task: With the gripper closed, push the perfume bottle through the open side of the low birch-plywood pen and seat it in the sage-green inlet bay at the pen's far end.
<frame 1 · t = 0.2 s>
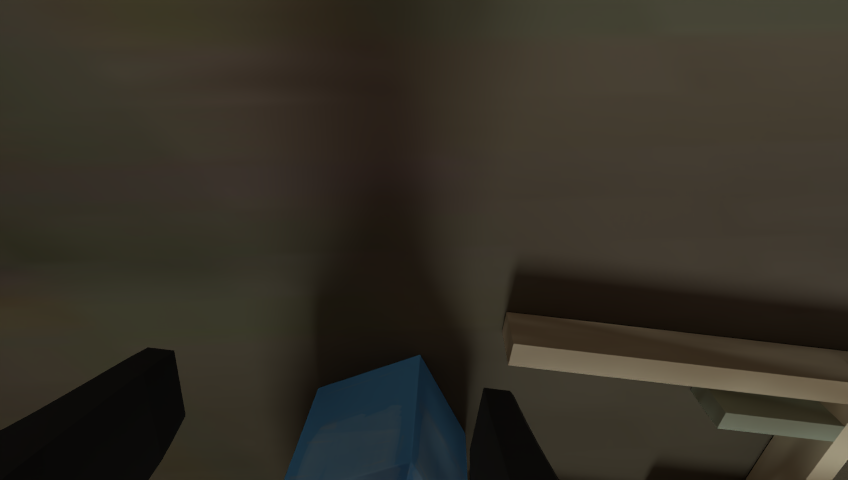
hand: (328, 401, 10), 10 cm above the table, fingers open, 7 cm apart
perfume bottle: (393, 408, 24), on the table
walled pen: (623, 438, 24), on the table
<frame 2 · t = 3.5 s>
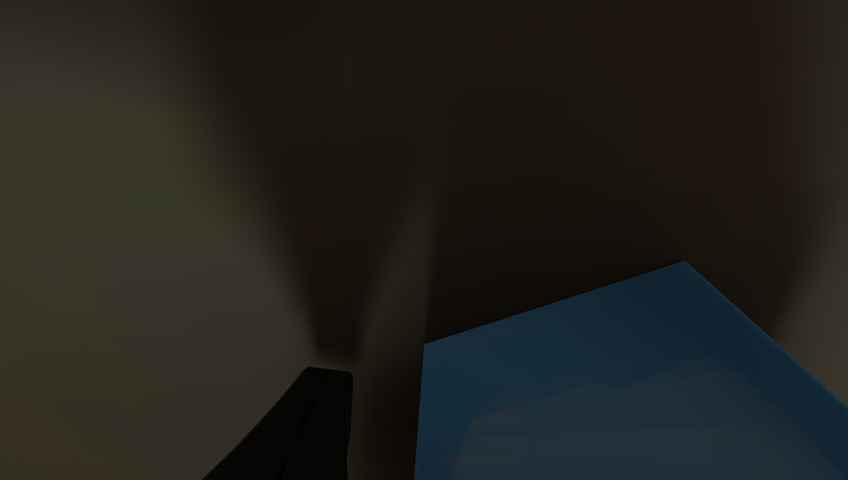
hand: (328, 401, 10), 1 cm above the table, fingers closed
perfume bottle: (579, 393, 11), on the table, touching gripper
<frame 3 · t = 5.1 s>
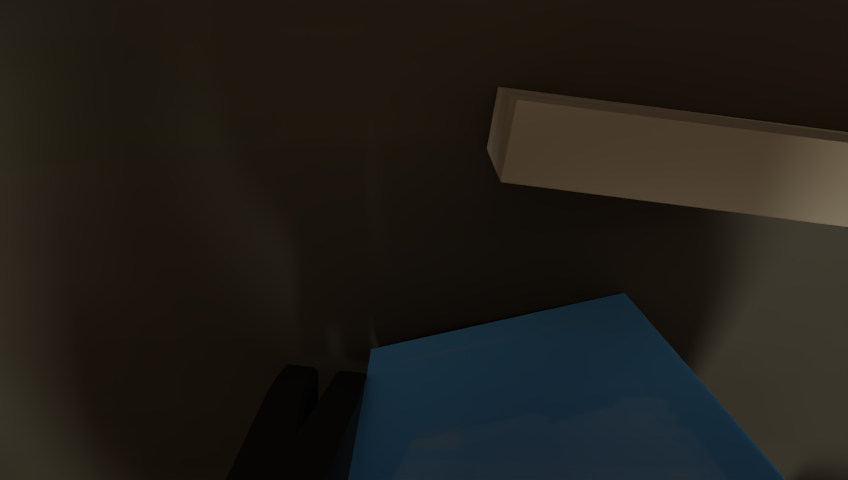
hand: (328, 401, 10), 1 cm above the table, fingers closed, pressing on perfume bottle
perfume bottle: (514, 409, 12), on the table, touching gripper
walled pen: (742, 422, 11), on the table
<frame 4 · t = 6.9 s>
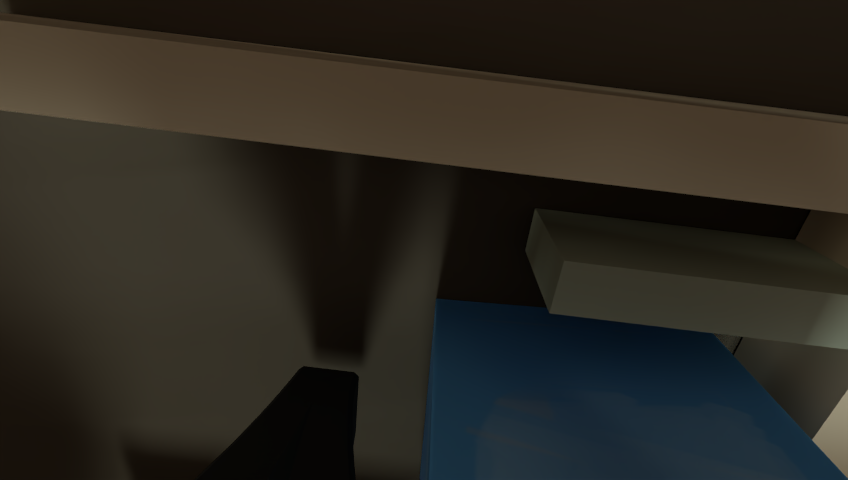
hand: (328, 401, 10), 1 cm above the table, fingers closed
perfume bottle: (541, 400, 11), on the table, touching gripper
walled pen: (404, 377, 11), on the table
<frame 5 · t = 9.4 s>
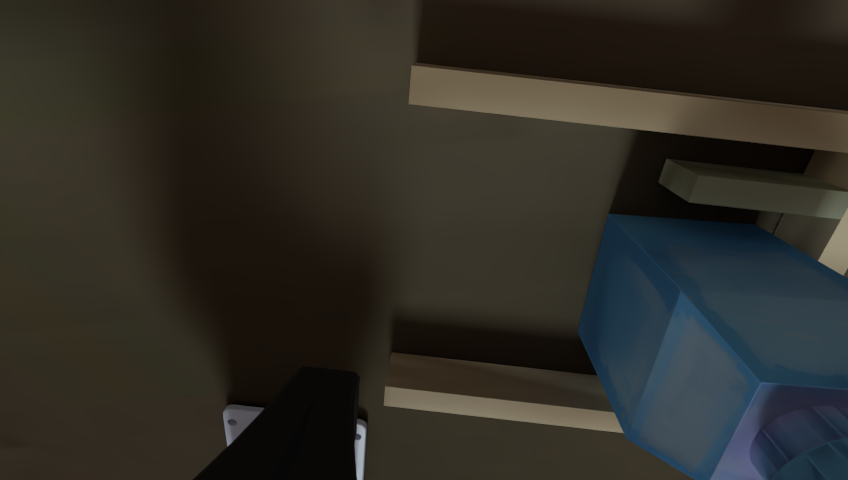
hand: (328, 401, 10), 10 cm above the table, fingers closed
perfume bottle: (657, 279, 19), on the table
walled pen: (577, 261, 19), on the table
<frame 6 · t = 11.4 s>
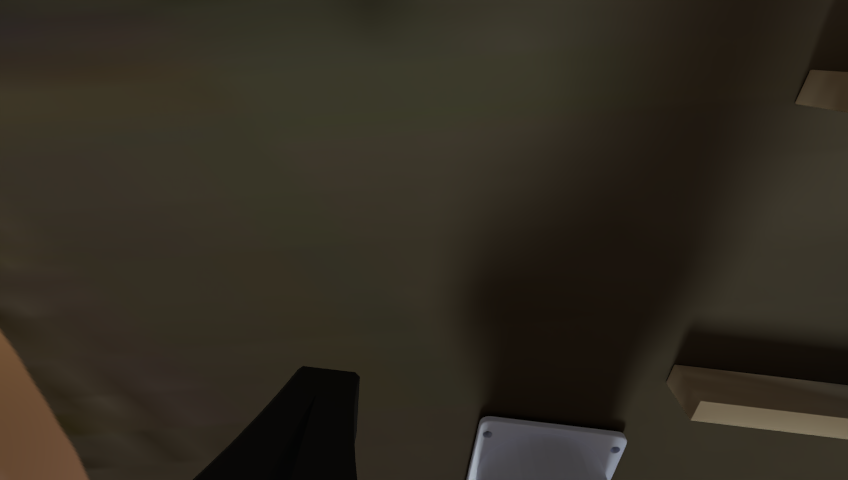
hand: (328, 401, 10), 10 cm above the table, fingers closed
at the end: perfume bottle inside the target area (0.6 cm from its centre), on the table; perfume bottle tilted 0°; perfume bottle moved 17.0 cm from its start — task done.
